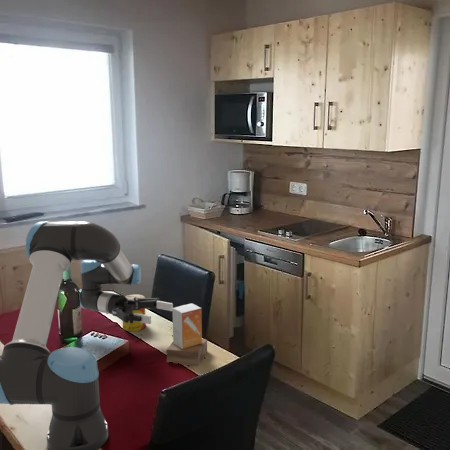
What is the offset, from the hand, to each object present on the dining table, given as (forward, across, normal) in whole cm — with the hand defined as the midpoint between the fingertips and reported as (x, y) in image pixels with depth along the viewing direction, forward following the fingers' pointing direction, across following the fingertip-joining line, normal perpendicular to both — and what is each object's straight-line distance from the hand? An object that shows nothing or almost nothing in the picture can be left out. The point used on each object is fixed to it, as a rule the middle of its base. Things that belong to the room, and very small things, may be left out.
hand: (161, 313), depth 180 cm
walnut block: (+10, 0, -14) cm, 18 cm away
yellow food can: (-22, -13, -14) cm, 29 cm away
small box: (+10, 0, -10) cm, 14 cm away
